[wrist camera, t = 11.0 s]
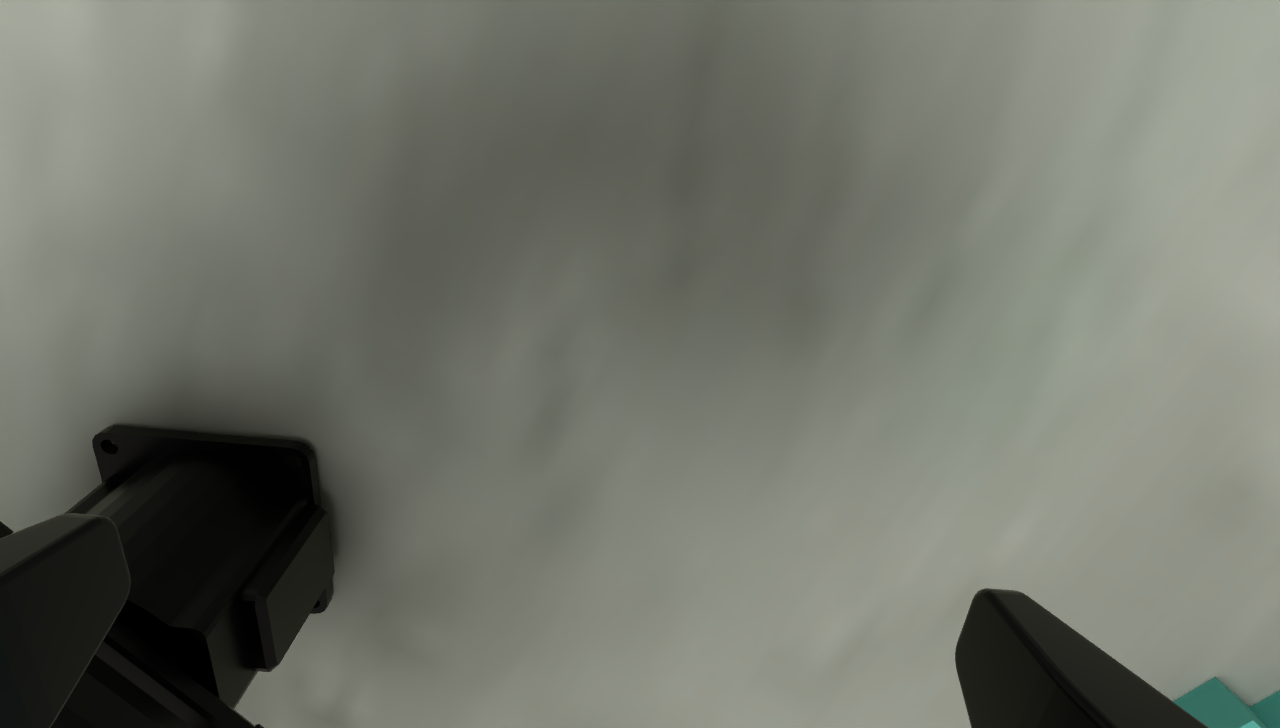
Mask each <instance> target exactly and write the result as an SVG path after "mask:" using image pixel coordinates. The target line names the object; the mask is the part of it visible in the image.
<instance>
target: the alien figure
mask: <svg viewBox="0 0 1280 728" xmlns="http://www.w3.org/2000/svg"><path fill="white" fill-rule="evenodd" d="M1173 702H1174V703H1175V704H1177V705H1178V706H1180V707H1181V708H1182V709H1184V710H1185V711H1186V712H1188V713H1189V714H1191V715H1192V716H1193V717H1195V718H1196V719H1197V720H1199V721H1200V722H1202V723H1203V724H1204V725H1206V726H1207V727H1208V728H1280V691H1278V692H1276V693H1274V694H1273V695H1271V696H1269V697H1267V698H1265V699H1264V700H1262V701H1260V702H1258V703H1257V704H1255V705H1253V706H1251V707H1248V706H1247V705H1246V704H1245V703H1244V702H1243V701H1242V700H1241V699H1240V698H1238V697H1237V696H1236V695H1235V694H1234V693H1233V692H1232V691H1231V690H1229V689H1228V688H1227V687H1226V686H1225V685H1224V684H1223V683H1222V682H1221V681H1219V680H1218V679H1217V678H1216V677H1214V678H1213V679H1211V680H1209V681H1208V682H1206V683H1204V684H1202V685H1201V686H1199V687H1197V688H1196V689H1194V690H1192V691H1190V692H1189V693H1187V694H1185V695H1184V696H1182V697H1180V698H1178V699H1177V700H1175V701H1173Z"/></svg>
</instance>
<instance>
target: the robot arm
mask: <svg viewBox="0 0 1280 728" xmlns="http://www.w3.org/2000/svg"><path fill="white" fill-rule="evenodd" d="M110 440H111V441H113V442H114V443H115V444H116V445H117V446H115V445H114V444H112V442H111V441H110ZM92 442H93V449H94V452H95V456H96V460H97V463H98V467H99V471H100V474H101V478H102V482H103V483H102V484H101V485H99V486H98V487H97V488H96V489H94V490H93V491H92V492H91V493H90V494H88V495H87V496H86V497H85V498H83V499H82V500H81V501H80V502H78V503H77V504H76V505H75V506H73V507H72V508H71V509H70V510H69V511H67V512H66V513H65V514H62V515H59V516H56V517H54V518H51V519H49V520H46V521H44V522H41V523H38V524H36V525H33V526H31V527H28V528H26V529H23V530H21V531H18V532H16V533H13V531H12V530H11V529H9V528H8V527H7V526H5V525H4V524H3V523H2V522H0V728H264V727H262V726H261V725H260V724H258V725H255V726H254V725H253V724H252V723H251V722H249V721H248V720H247V719H245V718H244V717H243V716H242V715H240V714H239V713H238V712H236V711H235V710H234V708H235V707H236V705H237V704H238V702H239V700H240V699H241V697H242V696H243V694H244V692H245V691H246V689H247V688H248V686H249V685H250V683H251V681H252V680H253V678H254V677H255V675H256V673H257V672H258V671H263V672H271V671H272V670H273V669H274V668H275V667H276V666H278V665H279V664H280V662H281V660H282V659H283V657H284V655H285V654H286V652H287V650H288V649H289V647H290V645H291V644H292V642H293V640H294V639H295V637H296V635H297V634H298V632H299V630H300V629H301V627H302V625H303V624H304V622H305V621H306V619H307V617H308V616H309V614H310V613H313V614H315V613H321V612H323V611H325V609H326V608H327V606H328V605H329V603H330V601H331V600H332V588H331V580H330V579H331V577H332V576H333V574H334V562H333V554H332V546H331V538H330V529H329V521H328V513H327V511H326V510H325V508H324V507H323V506H322V505H321V500H320V492H319V484H318V476H317V468H316V460H315V455H314V452H313V450H312V449H311V448H310V447H309V446H308V445H306V444H305V443H303V442H299V441H290V440H278V439H266V438H254V437H242V436H230V435H218V434H205V433H193V432H181V431H169V430H157V429H145V428H133V427H121V426H109V427H107V428H105V429H104V430H102V431H101V432H100V433H98V434H97V435H95V436H94V438H93V440H92ZM291 455H294V456H297V457H298V458H299V459H300V461H301V462H297V461H295V460H294V459H292V457H291ZM12 533H13V534H12ZM955 662H956V669H957V673H958V677H959V681H960V685H961V689H962V693H963V697H964V700H965V704H966V708H967V712H968V716H969V720H970V723H971V727H972V728H1208V727H1207V726H1206V725H1204V724H1203V723H1202V722H1200V721H1199V720H1197V719H1196V718H1195V717H1193V716H1192V715H1191V714H1189V713H1188V712H1186V711H1185V710H1184V709H1182V708H1181V707H1180V706H1178V705H1177V704H1175V703H1174V702H1173V701H1171V700H1170V699H1169V698H1167V697H1166V696H1164V695H1163V694H1162V693H1160V692H1159V691H1158V690H1156V689H1155V688H1153V687H1152V686H1151V685H1149V684H1148V683H1147V682H1145V681H1144V680H1142V679H1141V678H1140V677H1138V676H1137V675H1135V674H1134V673H1133V672H1131V671H1130V670H1129V669H1127V668H1126V667H1124V666H1123V665H1122V664H1120V663H1119V662H1118V661H1116V660H1115V659H1113V658H1112V657H1111V656H1109V655H1108V654H1107V653H1105V652H1104V651H1102V650H1101V649H1100V648H1098V647H1097V646H1096V645H1094V644H1093V643H1091V642H1090V641H1089V640H1087V639H1086V638H1085V637H1083V636H1082V635H1080V634H1079V633H1078V632H1076V631H1075V630H1074V629H1072V628H1071V627H1069V626H1068V625H1067V624H1065V623H1064V622H1063V621H1061V620H1060V619H1058V618H1057V617H1056V616H1054V615H1053V614H1052V613H1050V612H1049V611H1047V610H1046V609H1045V608H1043V607H1042V606H1041V605H1039V604H1038V603H1036V602H1035V601H1034V600H1032V599H1031V598H1030V597H1028V596H1027V595H1025V594H1024V593H1021V592H1018V591H1013V590H1001V589H989V588H986V589H982V590H980V591H978V592H977V593H976V595H975V596H974V598H973V600H972V603H971V606H970V609H969V611H968V614H967V617H966V620H965V623H964V625H963V628H962V631H961V634H960V636H959V639H958V642H957V646H956V652H955Z"/></svg>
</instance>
